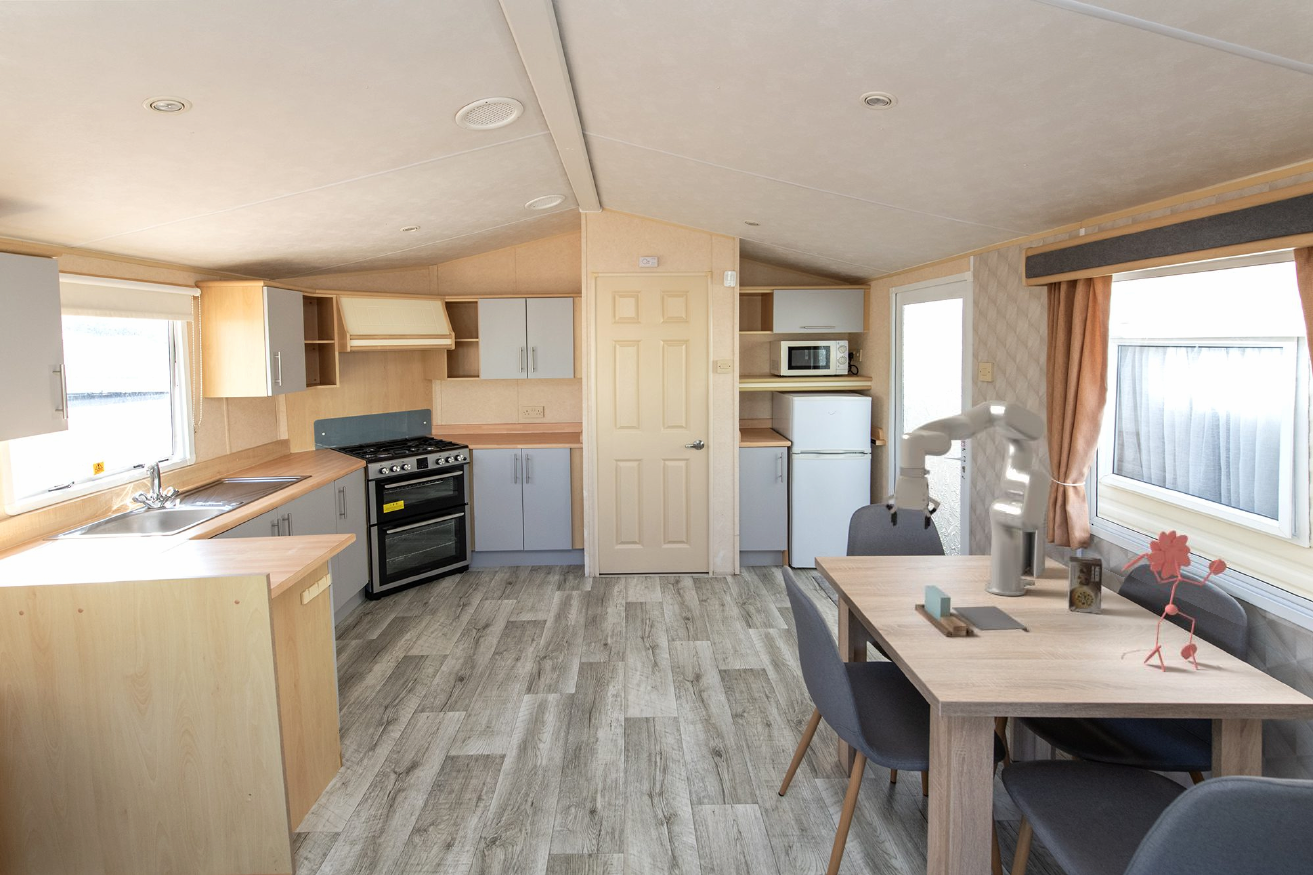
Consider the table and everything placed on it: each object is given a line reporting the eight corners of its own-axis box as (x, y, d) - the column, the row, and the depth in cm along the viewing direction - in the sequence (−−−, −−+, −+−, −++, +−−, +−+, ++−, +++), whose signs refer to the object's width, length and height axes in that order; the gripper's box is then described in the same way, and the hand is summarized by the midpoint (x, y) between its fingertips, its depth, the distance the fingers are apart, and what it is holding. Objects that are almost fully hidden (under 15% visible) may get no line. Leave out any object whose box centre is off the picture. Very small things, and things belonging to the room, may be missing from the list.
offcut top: (953, 621, 242) (953, 616, 242) (966, 630, 234) (966, 625, 234) (940, 621, 241) (940, 617, 241) (952, 631, 233) (953, 626, 233)
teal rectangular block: (933, 613, 256) (934, 585, 255) (949, 626, 244) (950, 597, 243) (924, 613, 256) (925, 585, 255) (939, 627, 244) (940, 597, 243)
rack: (939, 611, 257) (939, 603, 257) (973, 638, 234) (973, 630, 233) (915, 612, 257) (915, 604, 257) (946, 639, 233) (946, 631, 233)
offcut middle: (953, 626, 242) (953, 621, 242) (965, 636, 234) (965, 630, 234) (940, 626, 242) (940, 621, 241) (952, 636, 234) (952, 631, 233)
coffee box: (1099, 608, 258) (1102, 558, 256) (1100, 614, 253) (1103, 563, 251) (1067, 604, 262) (1069, 555, 260) (1067, 611, 256) (1070, 560, 255)
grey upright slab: (1035, 578, 291) (1039, 495, 288) (1019, 576, 294) (1022, 493, 291) (1044, 569, 302) (1048, 489, 299) (1028, 567, 306) (1032, 487, 302)
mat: (995, 609, 259) (995, 606, 259) (1027, 631, 239) (1027, 628, 239) (951, 610, 258) (951, 607, 258) (980, 632, 238) (980, 629, 238)
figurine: (1230, 668, 210) (1237, 534, 207) (1136, 674, 208) (1141, 538, 204) (1185, 648, 226) (1191, 522, 222) (1097, 653, 223) (1101, 526, 219)
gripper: (943, 473, 254) (941, 527, 256) (886, 469, 262) (885, 521, 264) (939, 476, 248) (937, 532, 250) (881, 472, 256) (879, 526, 258)
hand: (910, 526), depth 257 cm, fingers open, 9 cm apart
